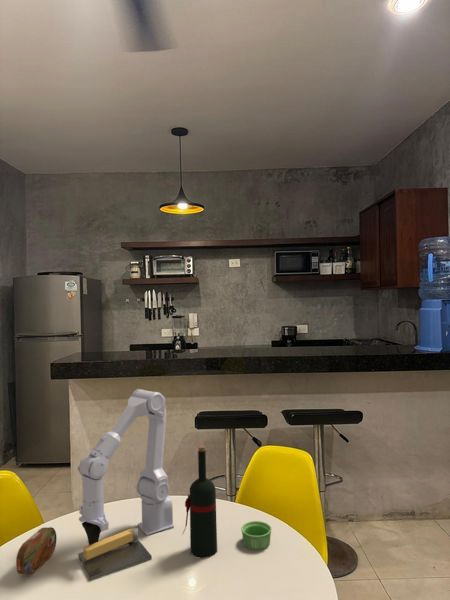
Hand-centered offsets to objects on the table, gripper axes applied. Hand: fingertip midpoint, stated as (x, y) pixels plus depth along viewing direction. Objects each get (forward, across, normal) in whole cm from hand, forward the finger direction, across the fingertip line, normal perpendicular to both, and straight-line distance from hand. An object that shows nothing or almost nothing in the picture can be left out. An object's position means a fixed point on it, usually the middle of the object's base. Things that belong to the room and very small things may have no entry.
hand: (93, 546), depth 125 cm
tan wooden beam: (+1, +2, +5) cm, 5 cm away
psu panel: (+3, +4, +4) cm, 7 cm away
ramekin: (+3, +27, +39) cm, 47 cm away
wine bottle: (+3, +18, +24) cm, 30 cm away
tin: (+3, -8, -13) cm, 16 cm away
